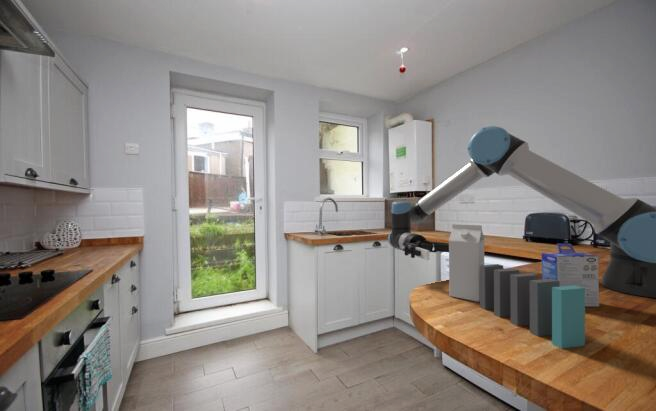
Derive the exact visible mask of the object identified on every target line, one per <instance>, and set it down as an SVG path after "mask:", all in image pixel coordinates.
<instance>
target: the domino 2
mask: <svg viewBox="0 0 656 411" xmlns="http://www.w3.org/2000/svg"><path fill="white" fill-rule="evenodd" d="M512 274H520V270H519V269H516V268H503V269H497V270H494V309H493V315H494V316H497V317H498V318H507V317H506V316H509V317H511V299H510V275H512Z"/></svg>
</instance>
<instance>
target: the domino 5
mask: <svg viewBox="0 0 656 411" xmlns="http://www.w3.org/2000/svg"><path fill="white" fill-rule="evenodd" d="M551 341H552V342H551V344H552V345H554V346H555V347H557V348H560V349H568V348H577V347H584V346H586V307H585V288H583V287H579V286H576V285H573V286H561V287H552V335H551Z"/></svg>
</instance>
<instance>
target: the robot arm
mask: <svg viewBox="0 0 656 411" xmlns="http://www.w3.org/2000/svg"><path fill="white" fill-rule="evenodd" d="M467 152H468V155H469V161H468V162H467V163H466V164H464V166H462V167H461V168H459V169H458V170H457V171H455V172H454V173H453V174H451V175H450V176H449V177H447V178H446V179H445V180H443V182H441V183H440V184H438V185H437V186H435V187H434V188H433V189H432V190H431V191H428V193H426V194H425V195H424V196H422V197H421V198H420V199H419V200H418V201H416V202H415V203H414V204H412V205H411V202H410V201H393V202H392V203H391V210H390V212H391V214H390V215H391V216H390V217H391V231H390V232H389V234H388V237H387V242H388V243H389V245H390V246H391V247H393V248H394V249H396V250H400V251H403V252H404V256H407V257H408V256H409V255H410V258H412V259H416V258H415V257H417V258H420V259H423V260H425V261H430V253H438V252H440V253H441V252H442V253H449V242H442V241H441V242H440V241H431V240H427V239H426V237H425V236H424V235H423V234H418V233H413V232H412V224H421V223H422V222H425V221H426V220H427V218H428V217H429V216H430V215H431V214H432V213H435V211H437V210H439V209H440V208H441V207H442V206H444V205H445V204H448V202H450V201H451V200H452V199H454V198H455V197H457V196H458V195H460V194H461V193H463V192H464V191H466V190H467V189H468V188H470V187H471V186H472V185H474V184H475V183H478V181H480V180H481V179H483V178H488V177H489V178H490V176H492V175H494V174H497V175H498V176H506V175H508V176H510V177H512V178H513V179H516V180H517V181H519V182H520V183H522V184H523V185H526V186H527V187H529V188H531V189H532V190H534V191H536V192H538V193H539V194H541V195H543V196H544V197H546V198H548V199H549V200H551V201H552V202H554V203H556V204H557V205H559V206H561V207H562V208H564V209H566V210H568V211H569V212H571V213H573V214H575V215H576V216H578V217H580V218H581V219H583V220H585V221H586V222H588V223H590V224H592V225H593V228H594V233H595V234H596V235H597V236H599V237H601V238H603V239H604V240H607V241H608V242H609V243H610V247H609V248H610V250H609V251H610V260H609V261H608V264H607V266H606V268H605V271H604V273H603V275H602V277H601V285H602V286H603V287H605V288H607V289H610V290H613V291H617V292H620V293H623V294H624V293H625V294H628V295H632V296H633V295H634V296H638V297H639V296H640V297H646V298H653V299H656V205H650V204H648V203H647V202H645V201H643V200H641V199H639V198H637V197H630V198H628V197H627V198H622V197H620V196H618V195H616V194H615V193H612V192H611V191H608V189H604V188H603V187H600V186H599V185H597V184H594V183H593V182H592V181H590V180H588V179H585V178H584V177H581V176H579V175H578V174H576V173H574V172H572V171H570V170H568V169H566V168H564V167H562V166H561V165H559V164H556V163H554V162H552V161H550V160H549V159H546V158H545V157H543V156H541V155H539V154H537V153H535V152H533V151H532V150H530V147H529V143H528V142H527V141H525V140H523V139H520V138H519V137H517V136H515V135H513V134H511V133H509V132H508V131H507V130H506V129H505V128H503V127H500V126H496V125H495V126H494V125H490V126H485V127H483V128H480V129H478V130H477V131H476V132H475V133H473V135H472V136H471V137H470V139H469V141H468V145H467Z"/></svg>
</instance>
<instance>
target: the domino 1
mask: <svg viewBox="0 0 656 411" xmlns="http://www.w3.org/2000/svg"><path fill="white" fill-rule="evenodd" d="M497 269H504V265H502V264H499V263H495V264H484V265H480V301H479V308H480V309H483V310H494V270H497Z"/></svg>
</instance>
